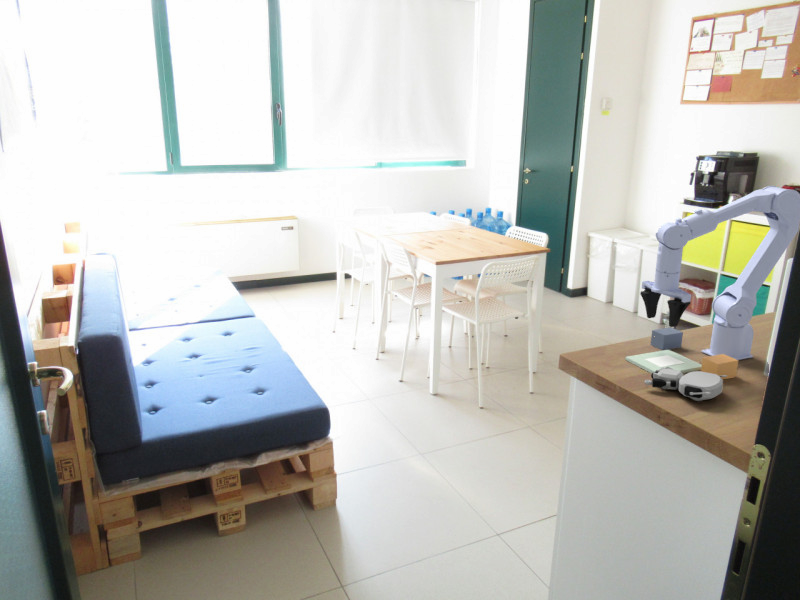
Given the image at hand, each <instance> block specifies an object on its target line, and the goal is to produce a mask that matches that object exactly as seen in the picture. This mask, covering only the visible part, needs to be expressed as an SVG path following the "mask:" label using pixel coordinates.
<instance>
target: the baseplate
mask: <svg viewBox="0 0 800 600" xmlns="http://www.w3.org/2000/svg"><path fill="white" fill-rule="evenodd" d="M624 358H625V359H624V360H625V361H627V362H629V363H630V364H633V365H634V366H637V367H639V368H640V369H643V370H645V371H646V372H648V373H650V374H652V373H653V372H655V371H656V370H660V368H667V367H669V368H672V369H674V370H678V371H681V372H682V373H683V374H687V373H690V372H694V371H701V366H702V363H700V362H697V361H695V360H692V359H690V358H689V357H686V356H684V355H682V354H680V353H677V352H675V351H672V349H667V350H658V351H657V350H656V351H651V352H646V353H640V354H635V355H630V356H629V355H628V356H627V355H626V356H625V357H624Z"/></svg>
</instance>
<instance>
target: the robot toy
mask: <svg viewBox="0 0 800 600" xmlns="http://www.w3.org/2000/svg"><path fill="white" fill-rule="evenodd" d="M650 374H651V375H650V376H651V380H650V379H645V380H644V385H645V386H651V387H652V388H661V389H662V390H675V391H676V390H678V391H679V393H680V394H682V395H683V396H684V397H688V398H690V399H691V400H693V401H696V402H702V401H703V400H711V399H714V398H716V397H717V396H719V395H721V393H722V392H723V385H724V379H722V378H721V377H727V375H723V376H718V375H717V374H712V373H707V372H702V371H701V370H697V371H692V372H686V373H682V372H681V371H678V370H674V369H672V368H669V367H667V368H660V370H656V371H655V372H653V373H650Z"/></svg>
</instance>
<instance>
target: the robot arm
mask: <svg viewBox="0 0 800 600" xmlns="http://www.w3.org/2000/svg"><path fill="white" fill-rule="evenodd" d="M751 212H756V213H758V212H759V213H762V214H764V215H765V216H766V219H767V222H768V225H769V228H770V229H769V230H768V232H767V233H766V235H765V236H764V238H763V240H762V241H761V242H760V244H759V246H758V247H757V249H756V250H755V251H754V253H753V254H752V256H751V258H749V260H748V262H747V263H746V265H745V267H744V268H743V269H742V271H741V273H740V274H739V276H738V277H737V279H736V281H735V282H734V283H732V284H731V285H729V286H727V287H725V289H724V290H723V291H722V293H720V294H718V295H717V296H715V298H714V299H713V301H712V303H711V308H712V309H711V310H712V312H713V313H714V314H715V316H714V319H713V326H712V333H711V339H710V343H709V348H705V349H702V350H701V353H703V354H706V355H708V356H714V355H720V354H724V355H727V356H729V357H732V358H734V359H736V360H738V361H740V360H746V359H751V358H753V357H754V355H753V354H751V351H752V346H753V345H752V344H753V339H754V335H755V333H754V329H753V327H752V325H751V324H750V322H751V320H752V317H753V313H754V309H755V307H756V306H757V304H758V303H757V301H758V300H757V294H758V291H759V290H760V288H762V286H763V284H764V283H765V281H766V280H767V278H768V277H769V275H770V274H771V272H772V271H773V269H774V268H775V266H776V265H777V264H778V262H779V260H780V259H781V257H783V254H784V253H785V251H787V249H788V247H789V246H790V244H791V243H792V241H793V240H794V238H795V237H796V235H797V233H798V232H799V230H800V192H798V191H797V190H795V189H792V188H791V189H787V188H783V187H779V186H776V185H767V186H765V187H763V188H760V189H756V190H753V191H752V192H750V193H749V194H746V195H744V196H742V197H740V198H738V199H735V200H734V201H732V202H730V203H727V204H725V205H723V206H721V207H719V208H717V209H714V210H710V209H705V208H704V209H700V208H698V209H695V210H694V213H692V214H690V215H688V216H685V217H683V218H680V217H678V218H675V222H667V223H663V224H662V225H661V226H660V227H658V230H657V232H656V233H655V238H656V241H658V249H657V254H656V262H655V263H656V264H655V265H656V266H655V274H654V281H650V280H644V281H641V282H642V283H641V289H643V291H642V290H641V291H640V292H639V293H640V294H639V295H640V296H641V298H642V300H643V303H644V306H645V311H646V319H654V318H656V316H657V312H658V311H657V310H658V306H659V302H660V298H661V296H662V295H663V296H666V297H670V298H673V299H668V300H667V301H666V302H667V305H668V313H669V314H668V315H669V316H668V317H669V318H668V326H669V328H670V327H671V328H675V327H678V326H679V325H678V324H679V323H680V320H681V318H682V316H683V314H684V313H685V311H686V309H687V308H688V307H689V306H690V305H691V303H692V302H691V299H692V294H691V293H690V292H688V291H685V290H683V289H681V288H679V286H680V285H679V284H680V276H681V268H682V267H681V266H682V261H683V260H682V259H683V251H684V247H685V246H686V245H687V244H688V243H689V242H690V241H692V240H695V239H697V238H700V237H701V236H704V235H706V234H709V233H712V232H714V231H715V230H716V229H717V227H718V225H719V224H721V223H723V222H727V221H729V220H732V219H735V218H737V217H740V216H743V215H746V214H748V213H751Z"/></svg>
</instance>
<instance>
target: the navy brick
mask: <svg viewBox="0 0 800 600" xmlns="http://www.w3.org/2000/svg"><path fill="white" fill-rule="evenodd" d="M683 334H684V332H683V331H681V330H678V329H676V328H675V327H670V326H669V327H664V328H658V329H652V330H651V339H650V346H652V347H654V348H656V349H659V350H660V351H663V350H672V349H679V348H682V345H683V344H682V343H683V337H684V336H683ZM654 336H655V337H654Z"/></svg>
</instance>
